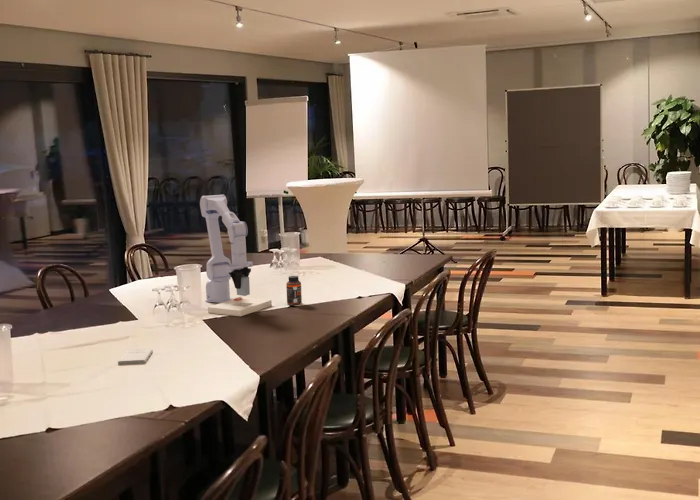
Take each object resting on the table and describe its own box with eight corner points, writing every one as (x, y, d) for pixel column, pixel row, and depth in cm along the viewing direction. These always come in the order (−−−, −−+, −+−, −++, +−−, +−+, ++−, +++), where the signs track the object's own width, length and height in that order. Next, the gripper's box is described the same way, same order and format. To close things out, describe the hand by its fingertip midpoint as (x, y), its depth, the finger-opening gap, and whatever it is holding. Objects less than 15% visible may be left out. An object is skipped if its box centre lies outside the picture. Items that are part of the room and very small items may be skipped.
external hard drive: (118, 366, 236) (127, 354, 248) (145, 364, 236) (152, 353, 249) (117, 361, 236) (126, 349, 248) (144, 359, 236) (152, 348, 248)
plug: (236, 294, 303) (236, 275, 302) (241, 293, 305) (240, 274, 304) (245, 295, 301) (244, 276, 300) (249, 294, 303) (249, 274, 302)
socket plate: (208, 312, 302) (207, 305, 301) (240, 302, 319) (239, 295, 318) (240, 316, 294) (240, 308, 293) (271, 305, 311) (271, 298, 310)
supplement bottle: (299, 305, 309) (298, 277, 307) (285, 305, 310) (284, 277, 308) (303, 302, 314) (302, 275, 313) (289, 302, 316) (288, 275, 314)
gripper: (235, 256, 293) (237, 291, 295) (258, 251, 305) (260, 284, 307) (220, 255, 296) (222, 290, 299) (244, 250, 309) (245, 283, 311)
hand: (240, 287), depth 303 cm, fingers closed on plug, 3 cm apart
